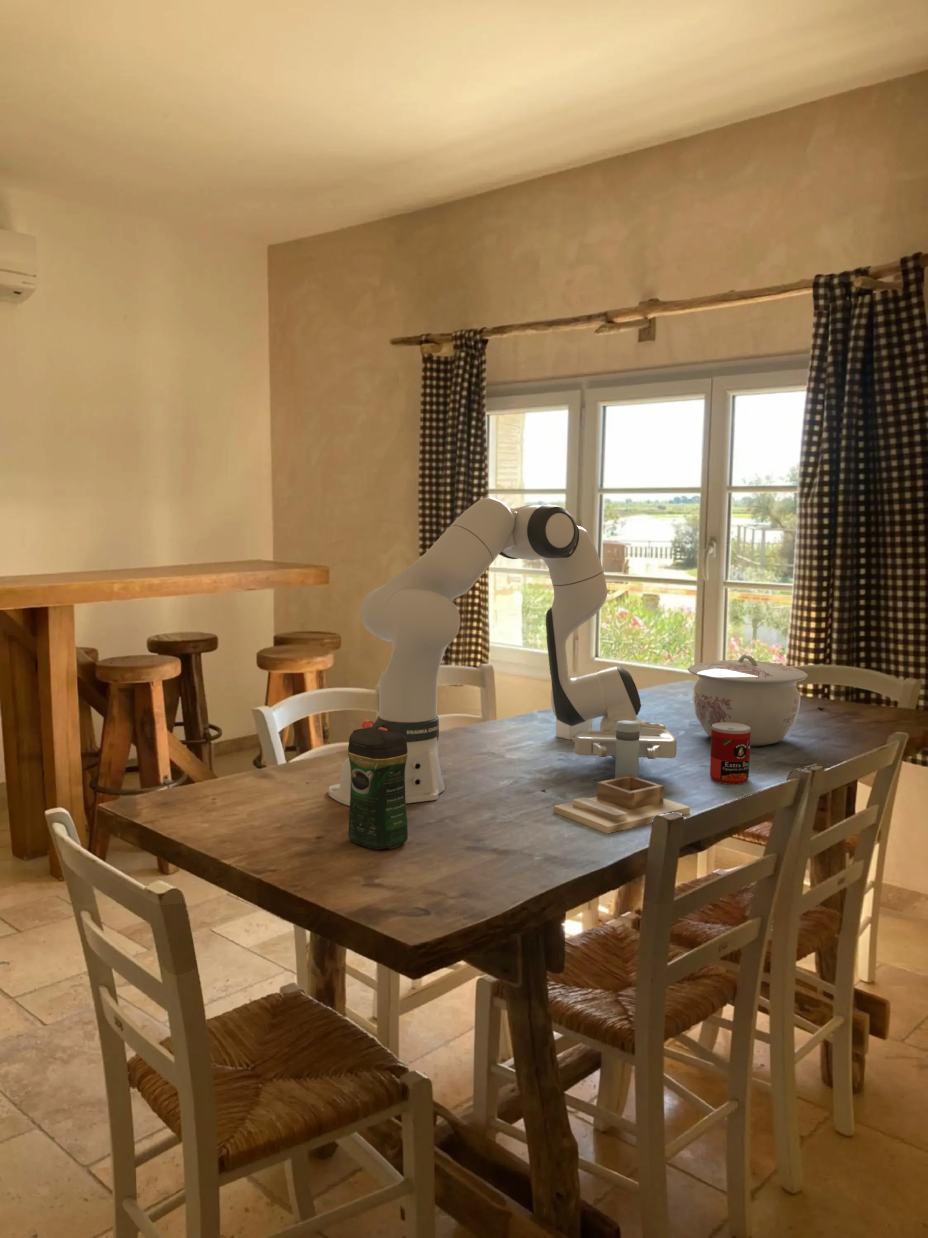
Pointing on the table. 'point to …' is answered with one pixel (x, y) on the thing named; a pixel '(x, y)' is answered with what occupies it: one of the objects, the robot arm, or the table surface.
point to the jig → (621, 805)
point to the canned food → (730, 752)
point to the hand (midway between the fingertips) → (627, 754)
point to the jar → (571, 729)
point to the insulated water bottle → (627, 748)
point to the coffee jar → (377, 788)
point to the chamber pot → (748, 696)
